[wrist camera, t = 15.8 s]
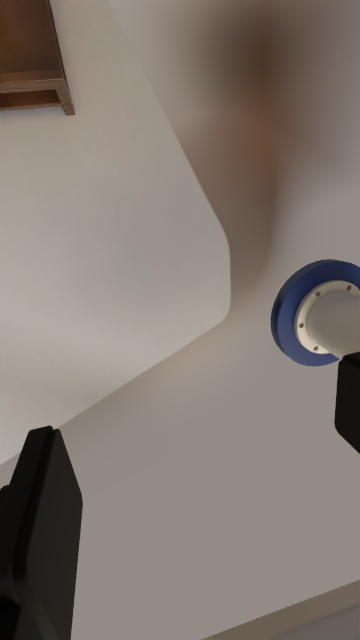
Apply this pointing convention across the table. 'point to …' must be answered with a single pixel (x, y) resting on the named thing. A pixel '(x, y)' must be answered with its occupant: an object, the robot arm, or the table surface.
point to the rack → (31, 58)
